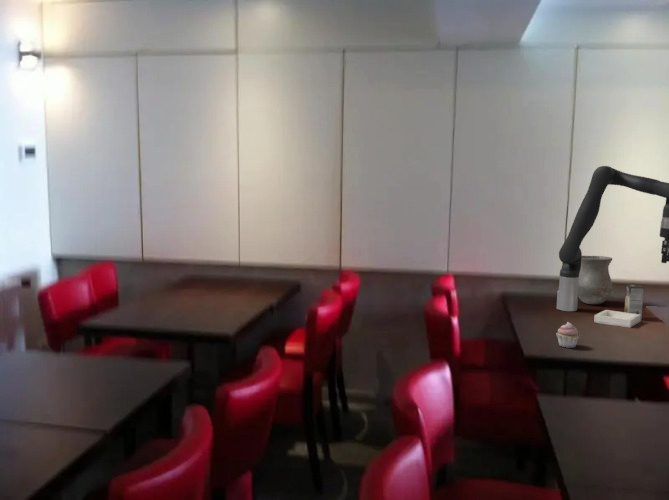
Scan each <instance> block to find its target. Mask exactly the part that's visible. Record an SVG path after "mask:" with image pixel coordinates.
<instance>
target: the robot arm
mask: <svg viewBox="0 0 669 500" xmlns="http://www.w3.org/2000/svg"><path fill="white" fill-rule="evenodd" d="M610 185H611V186H613V185H614V186H621V187H625V188H629V189H631V190H634V191H637V192H640V193H644V194H649V195H653V196H659V197H661V198H665V204H664V206H663V209H662V217H661V221H660V231H659V237H660V238H664V239H663V240H662V242H661V252H660V253H661V264H667V263H668V262H669V182H666V181H661V180H659V179H654V178H650V177H645V176H641V175H636V174H635V175H634V174H630V173H626V172H623V171H621V170H618V169H616V168H613V167H611V166H609V165H602V166H598V167H597V168H596V169H594V171H593V172H592V176H591V180H590V183H589V186H588V189H587V192H586V193H585V195H584V198H583V199H582V202H581V204H580V206H579V208H578V210H577V212H576V214H575V217H574V219H573V222H572V225H571V227H570V230H569V232H568V235H567V236H566V239H565V241H564V242H563V244H562V245H561V247H560V249H559V251H558V258H559V260H560V261H561V262H562V266H561V269H559V284H558V290H557V293H556V297H557V298H556V310H560V311H563V312H576V311H578V301H579V300H578V299H579V297H578V285H579V273H580V269H581V259H582V256H583V255H582V254H583V253H582V249H581V245H582V242H583V240H584V238H585V237H586V235H588V233H589V232H590V230H591V229H592V227H593V226H594V224H595V222H596V219H597V217H598V214H599V212H600V207H601V202H602V197H603V195H604V193H605V191H606V189H607V187H608V186H610Z"/></svg>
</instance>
